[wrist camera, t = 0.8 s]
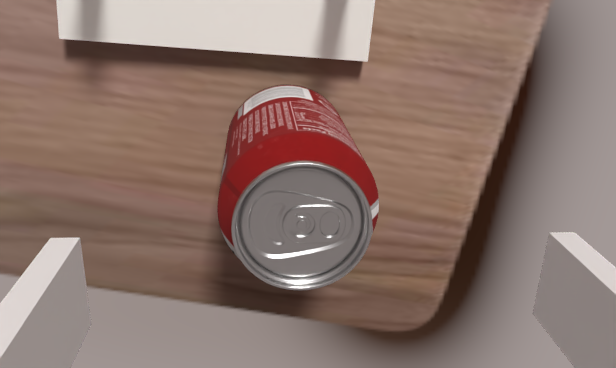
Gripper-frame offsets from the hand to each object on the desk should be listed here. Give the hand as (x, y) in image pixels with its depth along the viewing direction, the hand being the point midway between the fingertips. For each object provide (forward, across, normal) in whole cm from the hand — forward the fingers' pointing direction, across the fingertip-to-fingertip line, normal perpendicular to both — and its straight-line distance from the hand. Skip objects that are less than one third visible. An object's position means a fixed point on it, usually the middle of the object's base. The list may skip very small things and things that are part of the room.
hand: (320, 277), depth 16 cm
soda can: (+18, 0, -1) cm, 18 cm away
